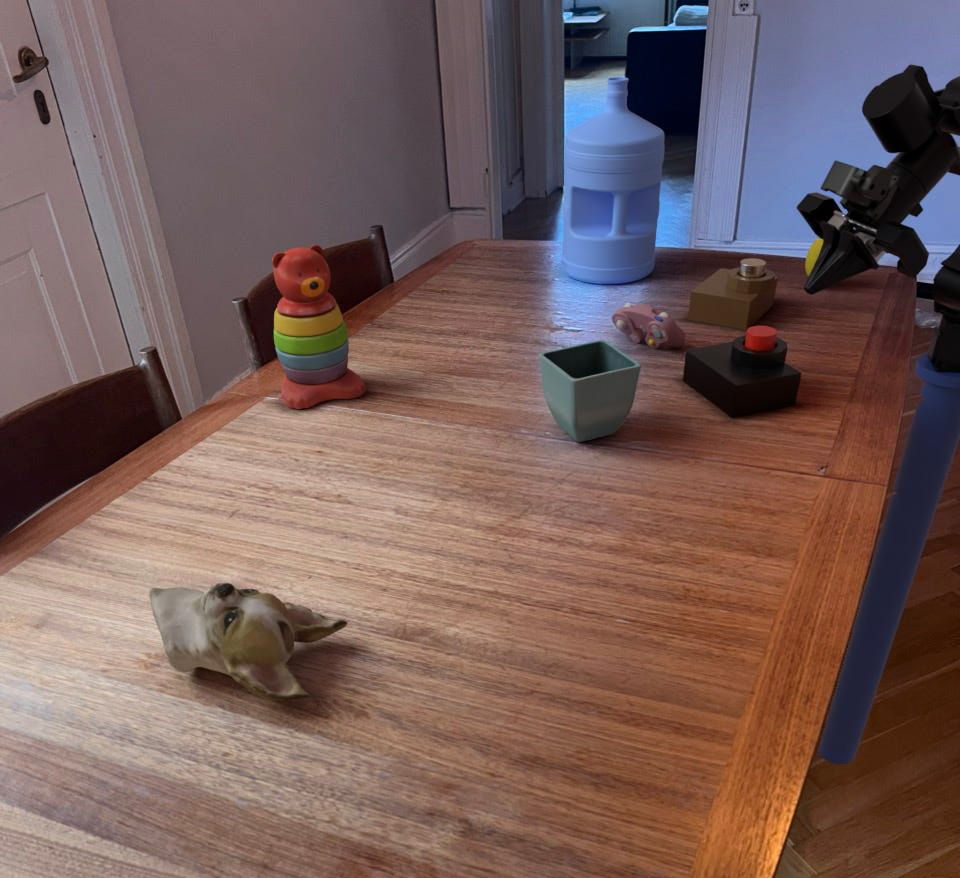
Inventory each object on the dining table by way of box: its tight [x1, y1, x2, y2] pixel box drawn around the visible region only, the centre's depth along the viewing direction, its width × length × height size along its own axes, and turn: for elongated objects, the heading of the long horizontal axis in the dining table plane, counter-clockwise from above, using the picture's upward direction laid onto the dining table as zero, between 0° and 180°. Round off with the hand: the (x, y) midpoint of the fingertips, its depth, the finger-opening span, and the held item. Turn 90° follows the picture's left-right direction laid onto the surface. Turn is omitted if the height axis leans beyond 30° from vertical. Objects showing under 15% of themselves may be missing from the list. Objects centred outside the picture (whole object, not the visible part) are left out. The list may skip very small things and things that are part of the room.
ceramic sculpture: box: [148, 582, 348, 702], centre depth 75 cm, size 11×9×15 cm
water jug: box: [560, 76, 666, 285], centre depth 146 cm, size 16×16×28 cm
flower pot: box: [538, 339, 642, 443], centre depth 106 cm, size 9×9×9 cm
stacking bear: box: [271, 244, 367, 410], centre depth 115 cm, size 11×10×18 cm
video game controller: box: [611, 302, 686, 350], centre depth 128 cm, size 10×5×7 cm, turn 47°
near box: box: [682, 334, 803, 419], centre depth 114 cm, size 10×12×6 cm
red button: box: [745, 325, 778, 351], centre depth 113 cm, size 4×4×2 cm
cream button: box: [738, 257, 767, 278], centre depth 133 cm, size 4×4×2 cm
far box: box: [687, 266, 779, 331], centre depth 136 cm, size 10×12×6 cm
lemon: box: [804, 237, 823, 278], centre depth 143 cm, size 6×6×8 cm
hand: (807, 291), depth 111 cm, fingers closed
